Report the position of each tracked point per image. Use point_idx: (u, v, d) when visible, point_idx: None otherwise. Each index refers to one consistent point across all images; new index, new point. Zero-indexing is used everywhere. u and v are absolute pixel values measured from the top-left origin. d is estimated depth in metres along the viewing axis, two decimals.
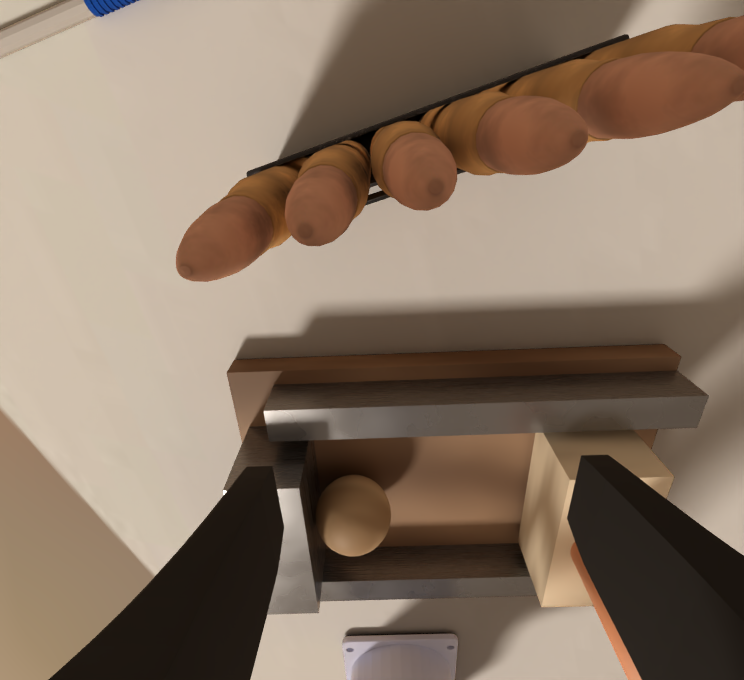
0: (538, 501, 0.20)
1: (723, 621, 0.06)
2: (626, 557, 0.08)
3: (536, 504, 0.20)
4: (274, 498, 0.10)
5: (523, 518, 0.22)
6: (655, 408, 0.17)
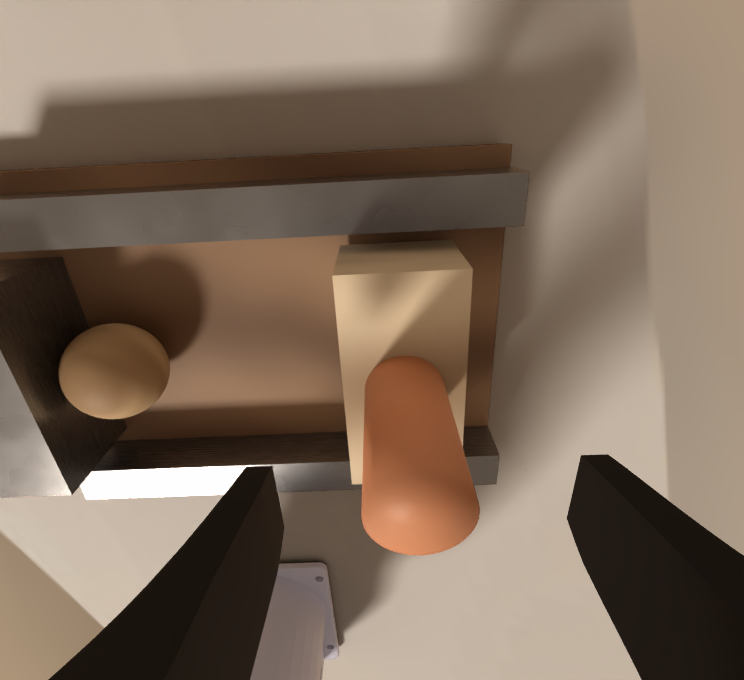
0: None
1: (723, 621, 0.06)
2: (626, 557, 0.08)
3: None
4: (274, 498, 0.10)
5: None
6: (462, 194, 0.13)
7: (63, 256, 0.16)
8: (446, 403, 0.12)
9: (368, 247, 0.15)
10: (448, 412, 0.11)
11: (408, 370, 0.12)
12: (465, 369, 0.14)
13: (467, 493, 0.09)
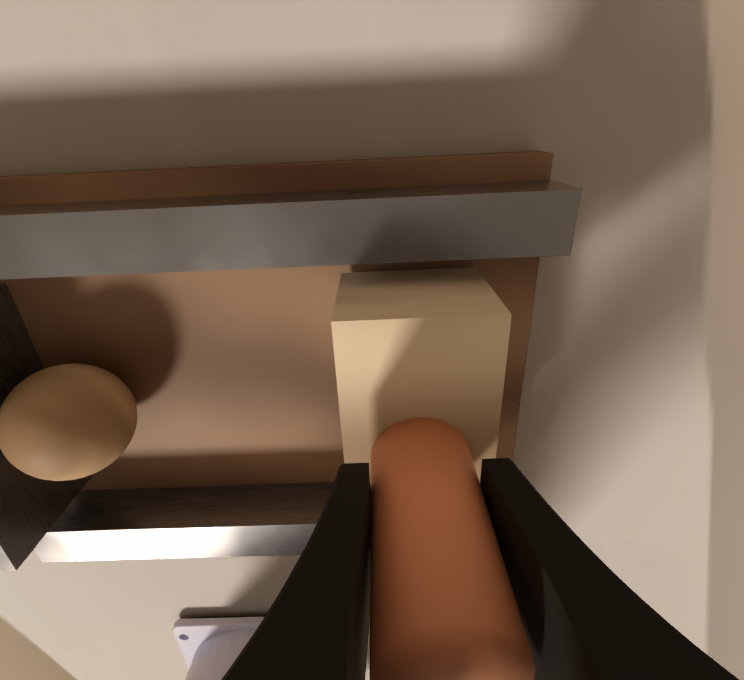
0: None
1: (563, 625, 0.06)
2: (509, 560, 0.08)
3: None
4: (370, 495, 0.10)
5: None
6: (495, 215, 0.10)
7: (7, 283, 0.13)
8: (477, 489, 0.09)
9: (375, 277, 0.12)
10: (481, 505, 0.09)
11: (427, 442, 0.10)
12: (496, 432, 0.11)
13: (520, 653, 0.06)
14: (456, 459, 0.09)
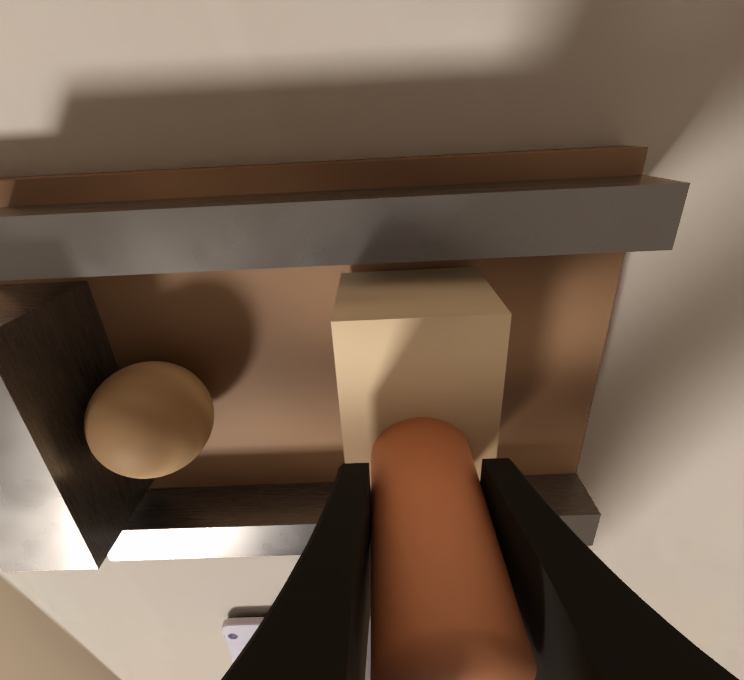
0: None
1: (563, 625, 0.06)
2: (509, 561, 0.08)
3: None
4: (370, 495, 0.10)
5: None
6: (600, 210, 0.10)
7: (88, 280, 0.13)
8: (478, 489, 0.09)
9: (375, 277, 0.12)
10: (482, 505, 0.09)
11: (427, 441, 0.10)
12: (497, 431, 0.11)
13: (521, 653, 0.06)
14: (456, 459, 0.09)
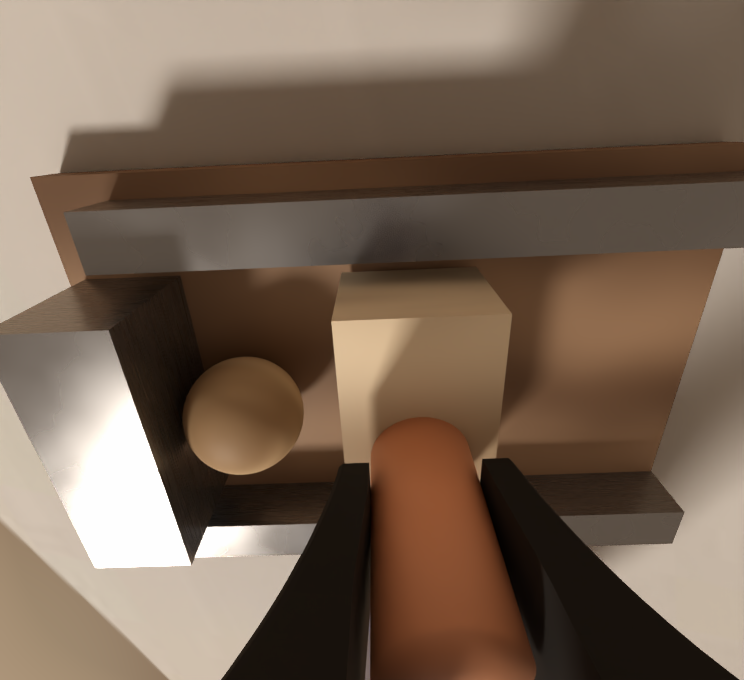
0: None
1: (563, 625, 0.06)
2: (509, 561, 0.08)
3: None
4: (370, 495, 0.10)
5: None
6: (723, 205, 0.10)
7: (182, 275, 0.13)
8: (478, 489, 0.09)
9: (376, 277, 0.12)
10: (482, 505, 0.09)
11: (427, 441, 0.10)
12: (497, 432, 0.11)
13: (521, 654, 0.06)
14: (456, 459, 0.09)
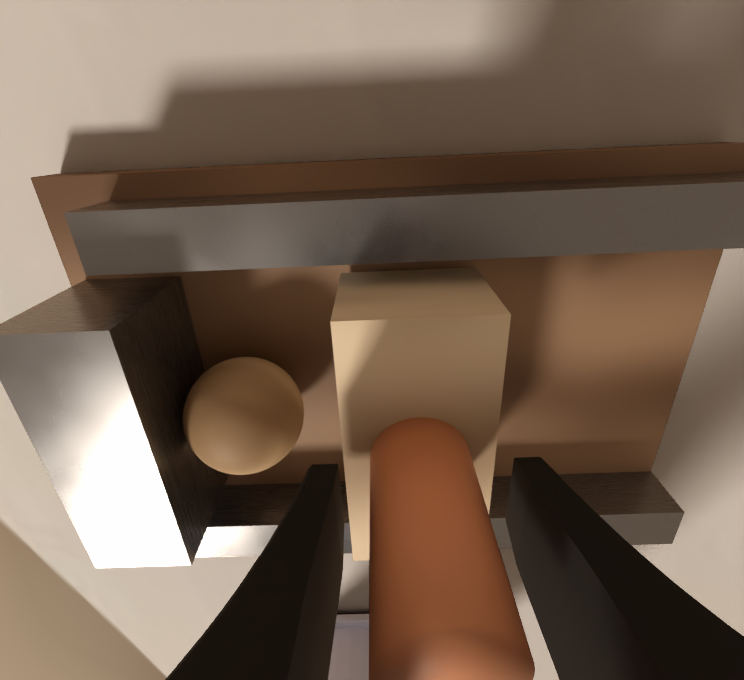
0: None
1: (614, 624, 0.06)
2: (546, 559, 0.08)
3: None
4: (339, 496, 0.10)
5: None
6: (723, 205, 0.10)
7: (182, 275, 0.13)
8: (477, 489, 0.09)
9: (375, 277, 0.12)
10: (481, 505, 0.09)
11: (426, 442, 0.10)
12: (496, 432, 0.11)
13: (519, 654, 0.06)
14: (455, 459, 0.09)
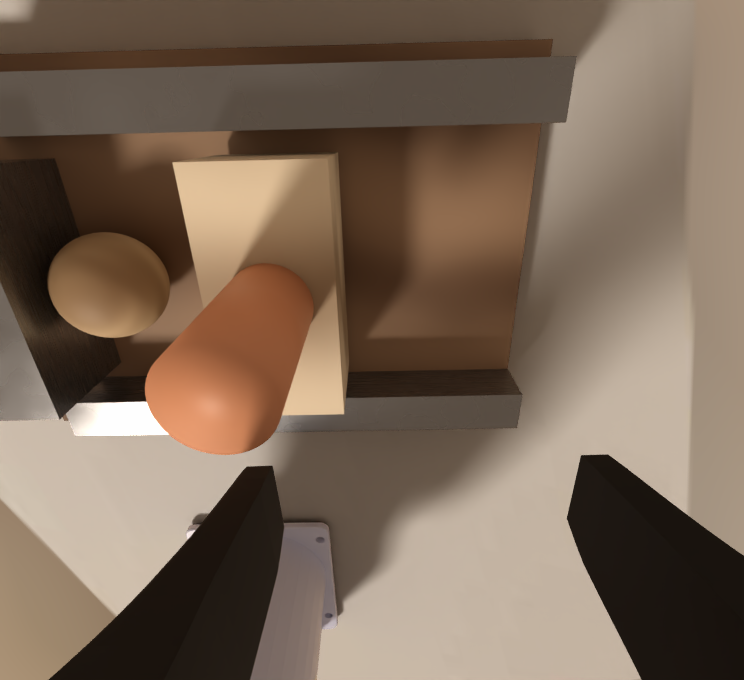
0: None
1: (723, 621, 0.06)
2: (626, 557, 0.08)
3: None
4: (274, 498, 0.10)
5: None
6: (501, 81, 0.12)
7: (56, 158, 0.15)
8: (291, 304, 0.11)
9: (244, 154, 0.14)
10: (287, 310, 0.10)
11: (258, 273, 0.11)
12: (336, 282, 0.12)
13: (261, 374, 0.08)
14: (279, 284, 0.11)
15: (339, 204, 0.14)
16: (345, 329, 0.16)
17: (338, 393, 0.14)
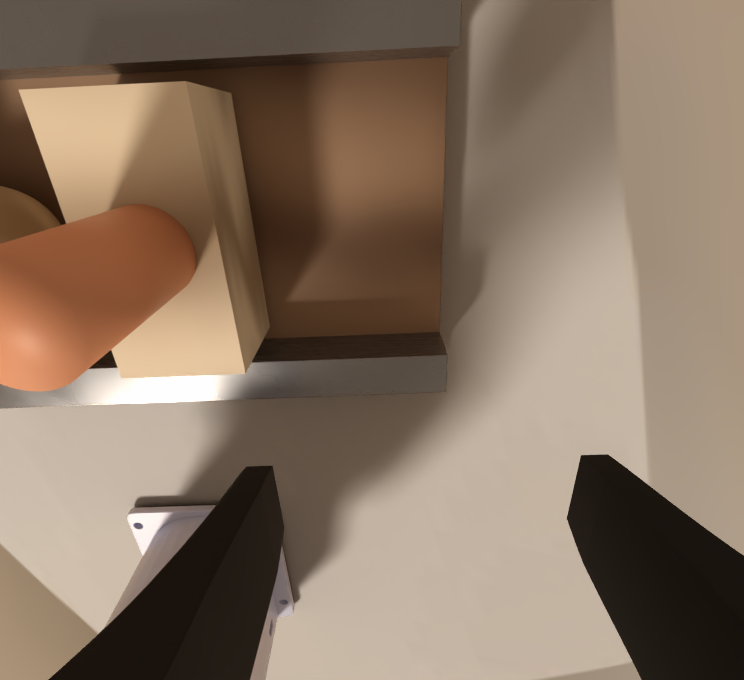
0: None
1: (723, 621, 0.06)
2: (626, 557, 0.08)
3: None
4: (274, 498, 0.10)
5: None
6: None
7: None
8: (144, 238, 0.10)
9: None
10: (133, 242, 0.09)
11: (118, 210, 0.10)
12: (217, 225, 0.12)
13: (54, 291, 0.07)
14: (137, 220, 0.10)
15: (235, 150, 0.13)
16: (255, 288, 0.15)
17: (235, 350, 0.13)
